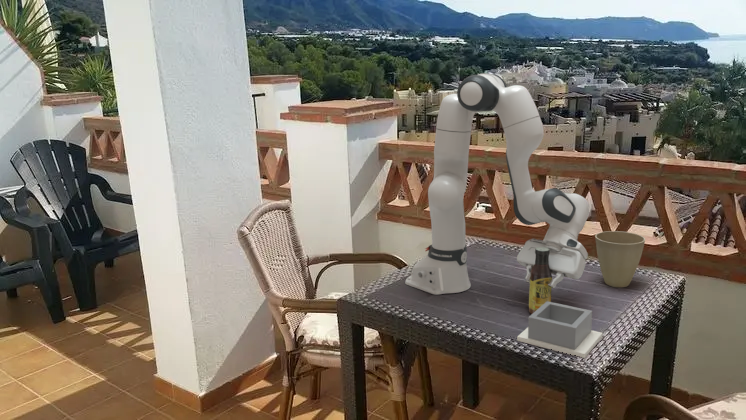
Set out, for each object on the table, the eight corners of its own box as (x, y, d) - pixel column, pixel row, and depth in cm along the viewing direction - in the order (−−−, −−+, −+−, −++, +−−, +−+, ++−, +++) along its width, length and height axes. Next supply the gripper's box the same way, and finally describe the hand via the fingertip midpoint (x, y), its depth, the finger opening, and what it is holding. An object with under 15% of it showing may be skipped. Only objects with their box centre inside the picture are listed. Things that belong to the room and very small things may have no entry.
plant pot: (635, 295, 182) (638, 246, 179) (587, 286, 191) (589, 239, 188) (647, 280, 194) (650, 234, 190) (601, 272, 203) (603, 228, 199)
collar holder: (517, 340, 157) (517, 315, 155) (538, 321, 168) (538, 298, 166) (584, 358, 146) (585, 331, 144) (602, 336, 157) (603, 312, 155)
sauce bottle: (535, 318, 170) (536, 253, 165) (524, 310, 176) (525, 247, 171) (555, 315, 171) (557, 250, 167) (543, 307, 177) (545, 244, 173)
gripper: (524, 232, 180) (505, 270, 176) (586, 244, 165) (566, 287, 161) (532, 242, 184) (513, 280, 180) (593, 256, 169) (574, 297, 165)
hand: (539, 283), depth 171 cm, fingers closed on sauce bottle, 6 cm apart
